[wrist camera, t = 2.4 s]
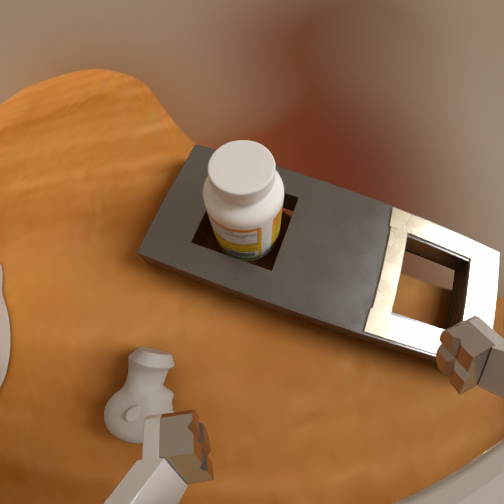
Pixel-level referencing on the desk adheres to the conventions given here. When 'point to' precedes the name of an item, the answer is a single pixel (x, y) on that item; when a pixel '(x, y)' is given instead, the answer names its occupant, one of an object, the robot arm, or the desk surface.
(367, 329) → the rail plate
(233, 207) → the supplement bottle
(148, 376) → the white lumpy figurine
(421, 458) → the desk surface
